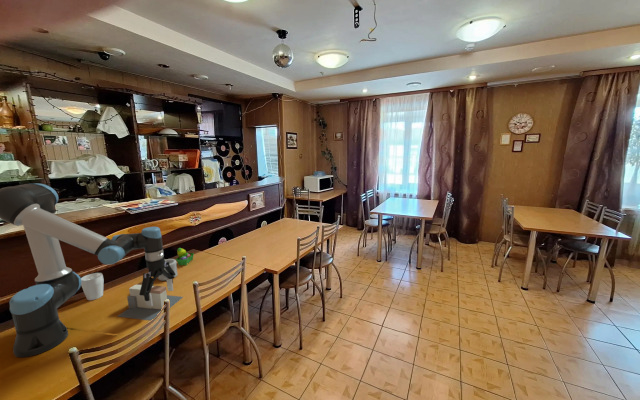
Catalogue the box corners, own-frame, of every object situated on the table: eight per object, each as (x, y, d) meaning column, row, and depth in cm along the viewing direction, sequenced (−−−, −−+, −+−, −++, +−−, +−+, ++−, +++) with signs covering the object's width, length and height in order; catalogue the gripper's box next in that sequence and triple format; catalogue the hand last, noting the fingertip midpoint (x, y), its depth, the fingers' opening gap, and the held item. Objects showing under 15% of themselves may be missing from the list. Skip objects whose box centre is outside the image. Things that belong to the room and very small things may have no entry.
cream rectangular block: (149, 310, 124) (146, 291, 122) (128, 307, 126) (125, 289, 124) (159, 302, 131) (156, 284, 129) (139, 300, 132) (137, 282, 130)
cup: (92, 302, 131) (89, 281, 129) (79, 300, 133) (75, 279, 131) (110, 293, 140) (107, 273, 137) (97, 291, 141) (93, 271, 139)
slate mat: (154, 322, 116) (154, 320, 116) (117, 317, 119) (117, 316, 119) (183, 297, 136) (183, 296, 136) (151, 294, 139) (150, 293, 139)
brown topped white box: (161, 309, 124) (159, 291, 123) (151, 308, 125) (148, 289, 123) (168, 304, 128) (165, 286, 127) (157, 303, 129) (155, 285, 127)
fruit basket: (186, 266, 173) (185, 251, 171) (174, 266, 174) (172, 250, 171) (195, 259, 185) (193, 245, 183) (183, 259, 185) (181, 244, 183)
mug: (179, 271, 165) (177, 257, 164) (175, 279, 155) (174, 264, 154) (155, 274, 161) (153, 260, 159) (150, 282, 151) (148, 267, 149)
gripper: (140, 270, 109) (147, 313, 113) (179, 249, 133) (184, 285, 137) (125, 269, 110) (132, 312, 114) (167, 248, 135) (172, 284, 139)
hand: (160, 297), depth 126 cm, fingers open, 13 cm apart
